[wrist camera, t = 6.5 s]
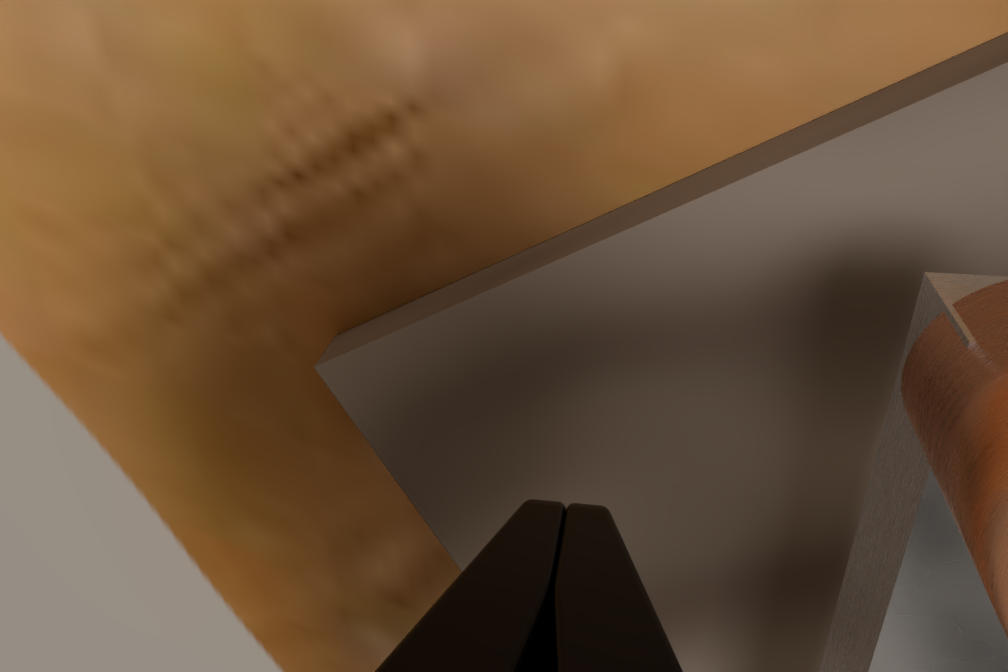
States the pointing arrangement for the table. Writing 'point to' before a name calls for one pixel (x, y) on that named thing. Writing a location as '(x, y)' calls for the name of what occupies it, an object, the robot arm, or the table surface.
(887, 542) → the lever
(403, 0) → the table surface
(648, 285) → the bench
